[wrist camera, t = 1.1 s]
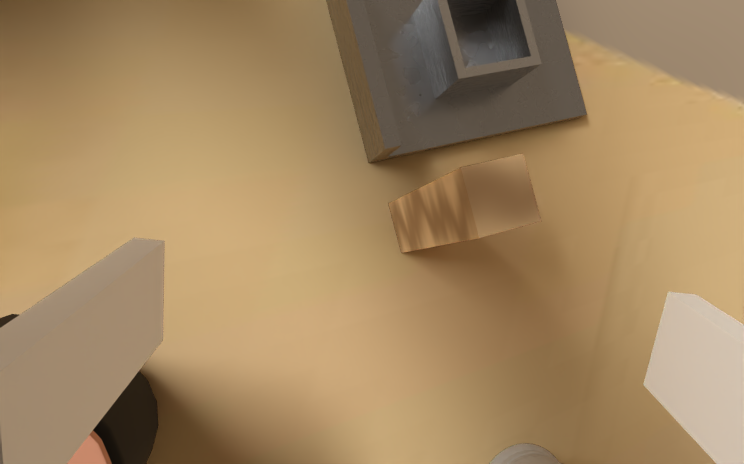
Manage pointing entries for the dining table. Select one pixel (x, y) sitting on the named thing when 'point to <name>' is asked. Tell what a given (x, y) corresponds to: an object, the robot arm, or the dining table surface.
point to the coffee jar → (123, 429)
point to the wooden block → (466, 205)
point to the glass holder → (525, 455)
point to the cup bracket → (453, 70)
